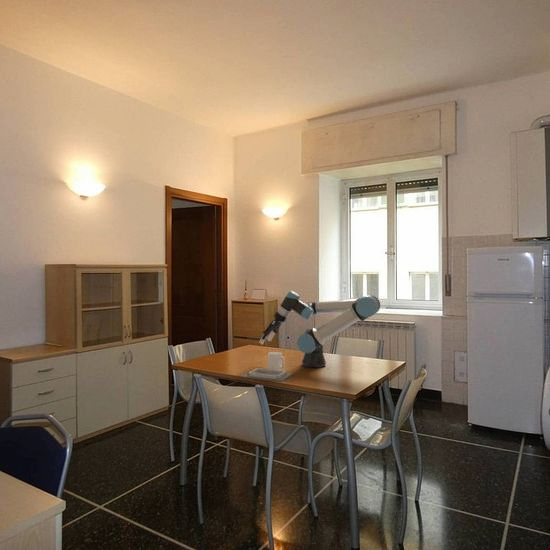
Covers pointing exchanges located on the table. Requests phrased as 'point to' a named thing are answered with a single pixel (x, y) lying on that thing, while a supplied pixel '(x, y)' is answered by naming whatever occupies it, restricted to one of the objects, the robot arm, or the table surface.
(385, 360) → the table surface
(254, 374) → the rail plate
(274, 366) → the cup
